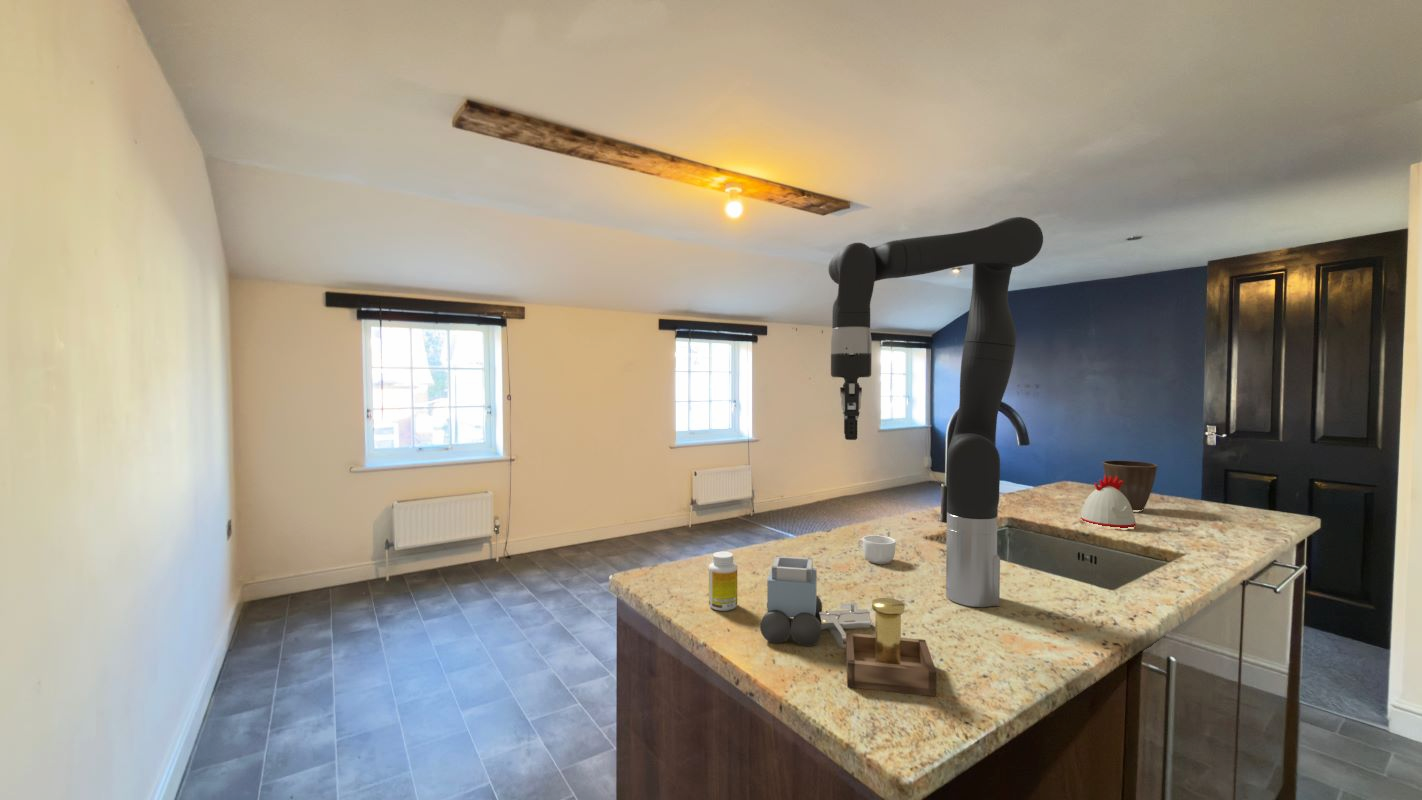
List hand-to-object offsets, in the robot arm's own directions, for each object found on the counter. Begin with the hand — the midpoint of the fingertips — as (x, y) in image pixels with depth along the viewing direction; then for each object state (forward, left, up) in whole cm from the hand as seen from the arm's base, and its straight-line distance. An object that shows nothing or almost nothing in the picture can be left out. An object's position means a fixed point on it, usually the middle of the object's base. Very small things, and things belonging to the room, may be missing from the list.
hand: (850, 437), depth 108 cm
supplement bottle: (+24, +4, -33) cm, 41 cm away
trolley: (+10, +12, -33) cm, 37 cm away
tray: (-5, +24, -33) cm, 41 cm away
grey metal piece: (0, +12, -34) cm, 36 cm away
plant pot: (-95, -106, -33) cm, 146 cm away
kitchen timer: (-79, -83, -33) cm, 119 cm away
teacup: (-7, -32, -33) cm, 47 cm away
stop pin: (-5, +24, -32) cm, 41 cm away
